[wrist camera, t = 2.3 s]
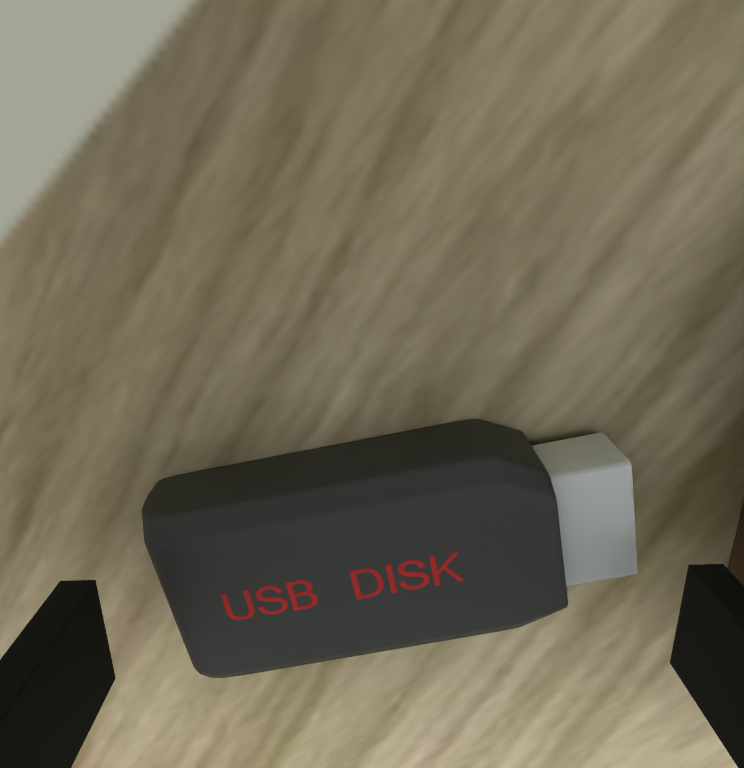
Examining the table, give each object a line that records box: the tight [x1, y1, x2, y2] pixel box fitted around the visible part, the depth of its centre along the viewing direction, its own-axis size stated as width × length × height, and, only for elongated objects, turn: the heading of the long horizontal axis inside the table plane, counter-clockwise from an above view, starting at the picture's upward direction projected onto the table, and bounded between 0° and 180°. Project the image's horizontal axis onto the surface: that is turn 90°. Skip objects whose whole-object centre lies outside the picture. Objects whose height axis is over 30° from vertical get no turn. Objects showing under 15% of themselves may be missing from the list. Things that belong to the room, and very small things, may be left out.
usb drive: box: [142, 420, 638, 678], centre depth 15 cm, size 5×12×3 cm, turn 101°
